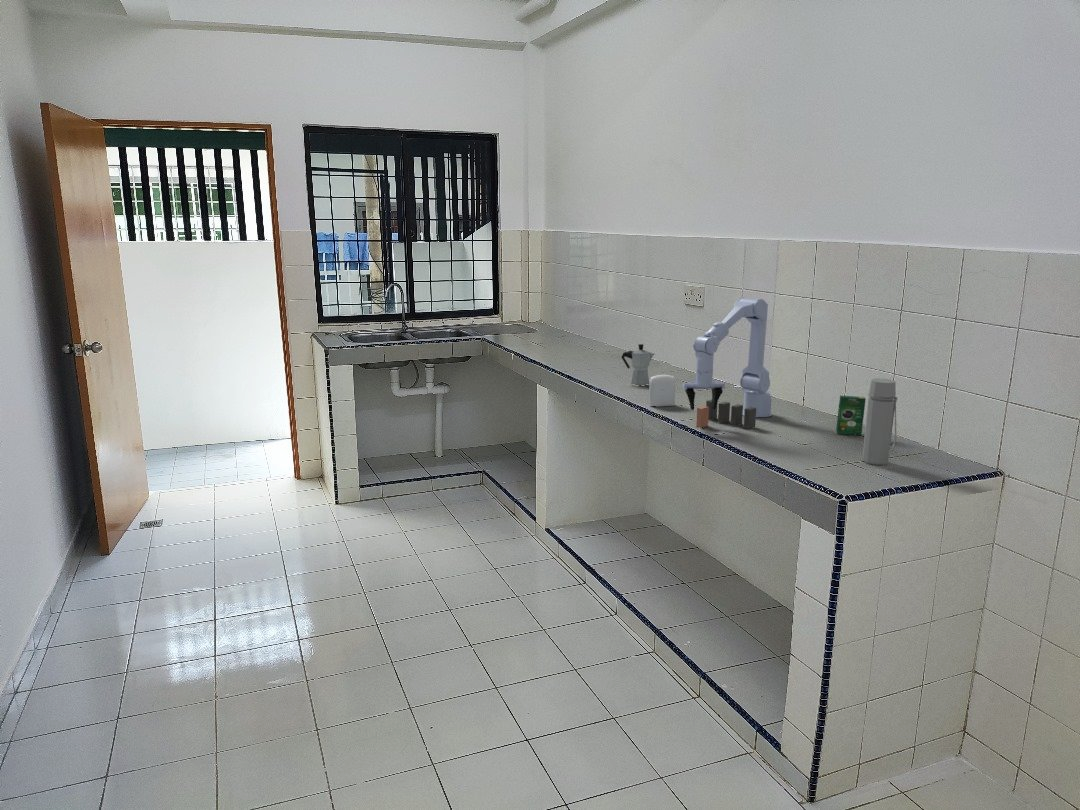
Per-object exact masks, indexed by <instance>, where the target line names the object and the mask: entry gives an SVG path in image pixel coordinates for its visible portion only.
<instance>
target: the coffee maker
mask: <svg viewBox="0 0 1080 810" xmlns="http://www.w3.org/2000/svg"><path fill="white" fill-rule="evenodd" d="M637 345H638V349H637V350H628V351H623V353H622V355H621V359H622V361H623V363H624V364H625V365H626V367H627V369H630V368H631V367H630V365H629V363H628V362H627V360H626V358H629V359H631V364H632V367H633V371H632V376H631V382H630V385H631V384H635V385H646V384H649V382H650V378H649V371H648V368H649V367H650V362H651V361H652V359H653V357H654V355H655V353H654V352H651V351H648V350H645V349H644V344H643V343H641V344H640V343H639V344H637Z"/></svg>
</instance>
